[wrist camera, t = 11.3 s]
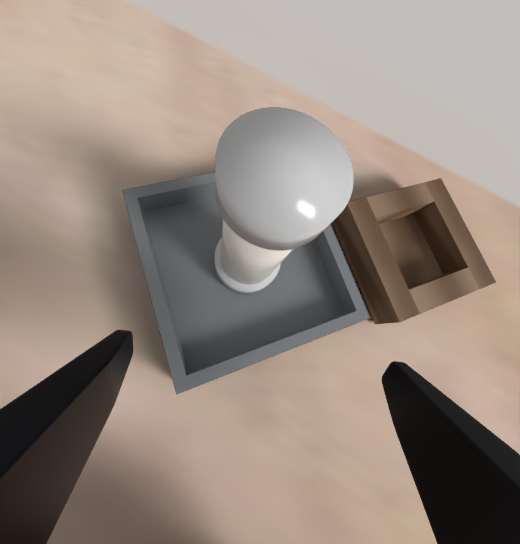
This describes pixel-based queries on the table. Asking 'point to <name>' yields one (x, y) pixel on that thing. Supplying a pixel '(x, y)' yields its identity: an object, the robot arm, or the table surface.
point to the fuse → (275, 192)
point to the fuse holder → (410, 251)
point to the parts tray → (220, 300)
